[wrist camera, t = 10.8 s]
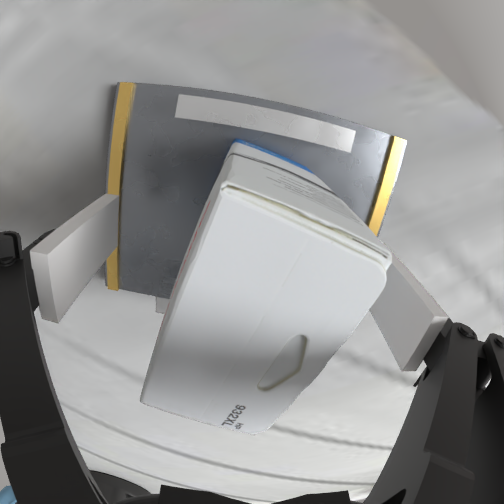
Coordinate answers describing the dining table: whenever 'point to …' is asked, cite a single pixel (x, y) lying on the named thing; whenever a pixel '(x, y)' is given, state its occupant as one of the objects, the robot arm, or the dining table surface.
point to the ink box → (262, 294)
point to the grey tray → (210, 162)
